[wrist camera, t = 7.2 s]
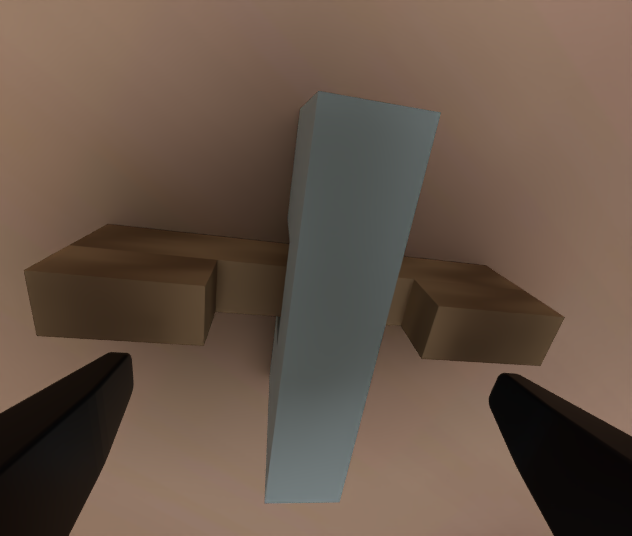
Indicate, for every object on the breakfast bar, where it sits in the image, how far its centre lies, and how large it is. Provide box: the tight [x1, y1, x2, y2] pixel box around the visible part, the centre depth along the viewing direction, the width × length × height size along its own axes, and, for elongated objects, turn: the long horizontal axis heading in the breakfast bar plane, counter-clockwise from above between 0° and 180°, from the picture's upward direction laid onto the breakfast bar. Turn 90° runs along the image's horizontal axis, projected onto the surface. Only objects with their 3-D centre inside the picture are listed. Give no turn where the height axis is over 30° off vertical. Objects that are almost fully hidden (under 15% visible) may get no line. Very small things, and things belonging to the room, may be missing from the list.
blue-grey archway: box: [265, 91, 441, 503], centre depth 11 cm, size 2×12×6 cm, turn 172°
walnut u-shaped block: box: [24, 224, 565, 366], centre depth 12 cm, size 16×2×4 cm, turn 81°
